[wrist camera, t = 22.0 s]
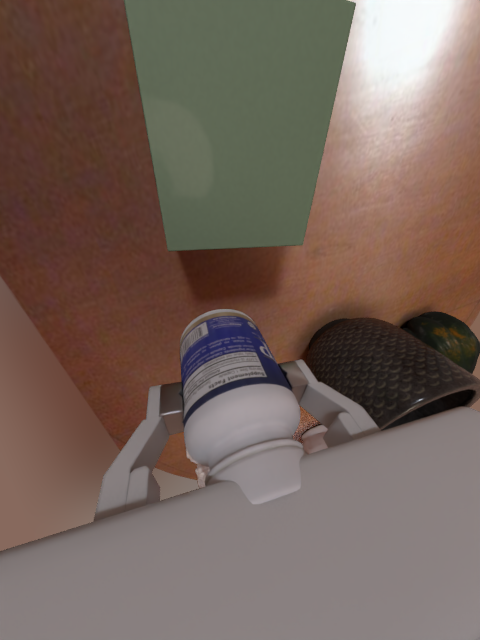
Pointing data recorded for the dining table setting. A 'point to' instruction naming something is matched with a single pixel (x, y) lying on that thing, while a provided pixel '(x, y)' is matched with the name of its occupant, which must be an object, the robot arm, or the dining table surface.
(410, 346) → the planter
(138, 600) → the robot arm
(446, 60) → the dining table surface
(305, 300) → the dining table surface
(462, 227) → the dining table surface
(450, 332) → the squash
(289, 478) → the pill bottle
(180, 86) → the green drawer cabinet
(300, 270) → the dining table surface
